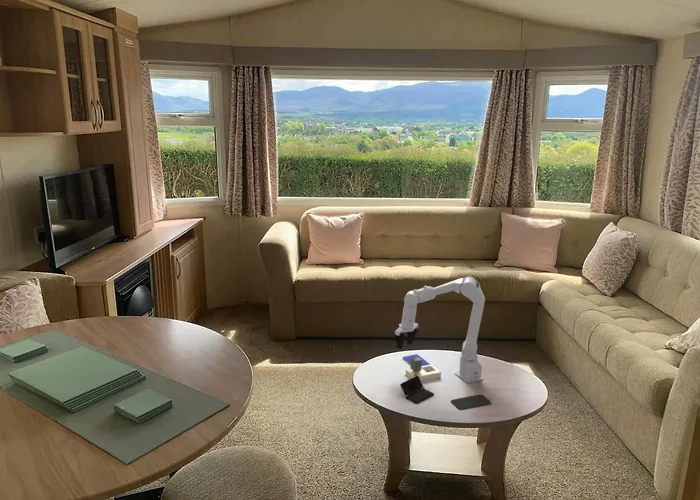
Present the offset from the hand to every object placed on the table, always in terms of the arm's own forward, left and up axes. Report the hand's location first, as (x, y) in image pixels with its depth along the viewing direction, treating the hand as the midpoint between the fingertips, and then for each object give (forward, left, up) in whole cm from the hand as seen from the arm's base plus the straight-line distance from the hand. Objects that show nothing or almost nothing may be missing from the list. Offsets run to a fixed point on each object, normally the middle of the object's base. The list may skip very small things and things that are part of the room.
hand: (404, 346), depth 242 cm
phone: (-37, -10, -11) cm, 40 cm away
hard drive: (+2, -8, -11) cm, 14 cm away
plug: (-10, -1, -8) cm, 13 cm away
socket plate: (-10, -4, -10) cm, 15 cm away
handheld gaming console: (-24, +7, -11) cm, 27 cm away
